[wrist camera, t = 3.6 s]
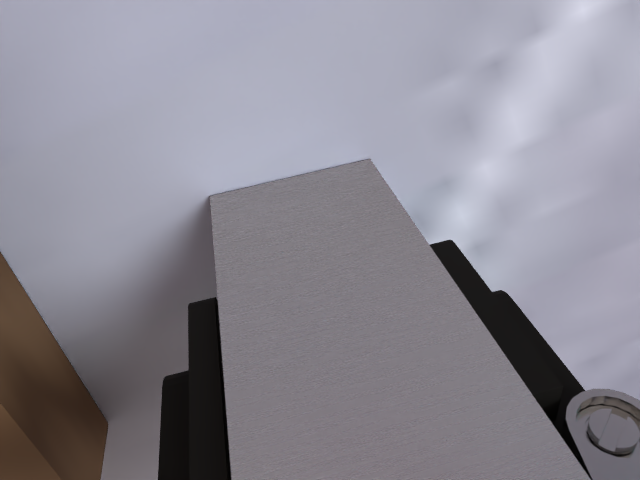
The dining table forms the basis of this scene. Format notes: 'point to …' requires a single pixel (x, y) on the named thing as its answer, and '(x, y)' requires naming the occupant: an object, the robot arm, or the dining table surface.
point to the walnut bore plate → (42, 399)
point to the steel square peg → (361, 345)
